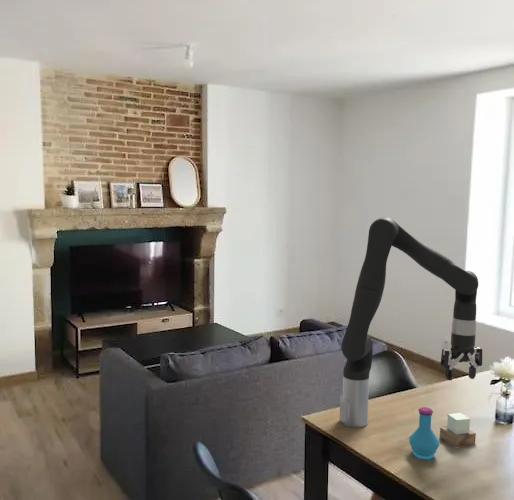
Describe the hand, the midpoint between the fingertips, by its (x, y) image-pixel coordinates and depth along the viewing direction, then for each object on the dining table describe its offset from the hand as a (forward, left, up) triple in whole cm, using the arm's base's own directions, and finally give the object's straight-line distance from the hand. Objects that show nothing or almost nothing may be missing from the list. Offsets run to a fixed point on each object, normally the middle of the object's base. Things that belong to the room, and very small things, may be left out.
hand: (460, 378), depth 186 cm
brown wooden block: (0, 0, -22) cm, 22 cm away
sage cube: (0, 0, -18) cm, 18 cm away
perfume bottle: (-16, -6, -22) cm, 28 cm away
